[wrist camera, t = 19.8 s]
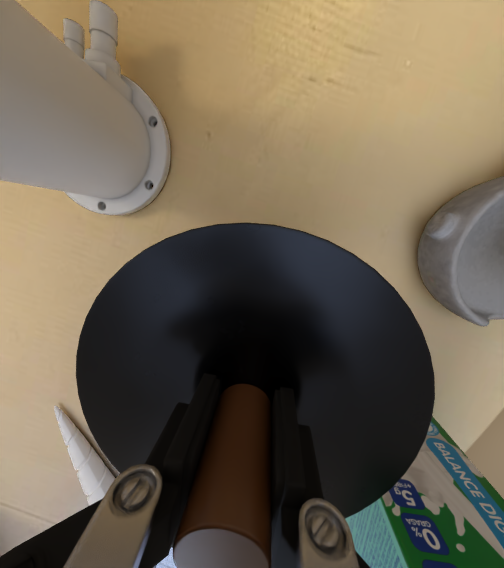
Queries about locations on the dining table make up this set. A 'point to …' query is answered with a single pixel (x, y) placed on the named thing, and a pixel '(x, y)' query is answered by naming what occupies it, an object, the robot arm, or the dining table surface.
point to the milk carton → (434, 514)
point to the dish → (467, 253)
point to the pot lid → (256, 374)
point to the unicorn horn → (85, 460)
